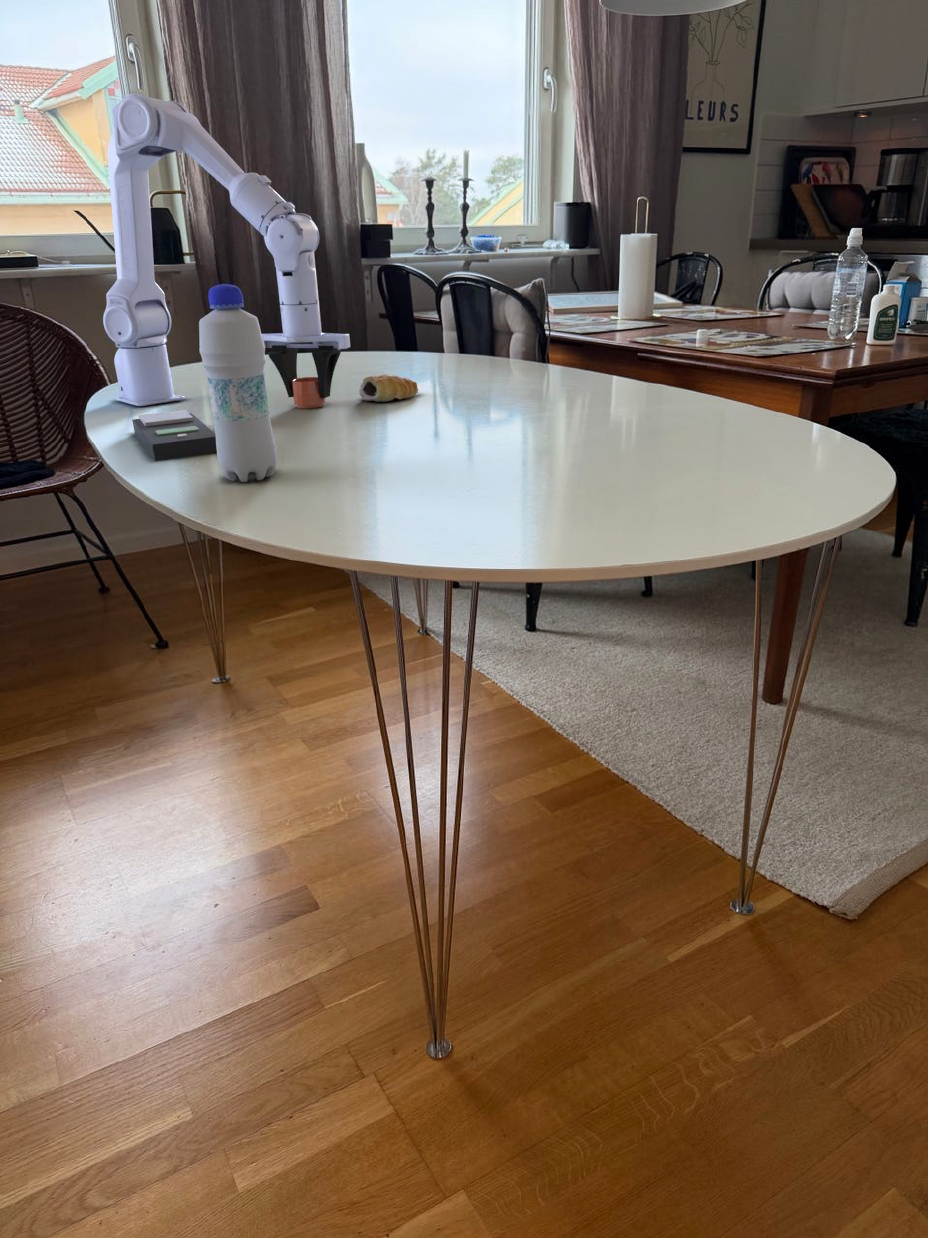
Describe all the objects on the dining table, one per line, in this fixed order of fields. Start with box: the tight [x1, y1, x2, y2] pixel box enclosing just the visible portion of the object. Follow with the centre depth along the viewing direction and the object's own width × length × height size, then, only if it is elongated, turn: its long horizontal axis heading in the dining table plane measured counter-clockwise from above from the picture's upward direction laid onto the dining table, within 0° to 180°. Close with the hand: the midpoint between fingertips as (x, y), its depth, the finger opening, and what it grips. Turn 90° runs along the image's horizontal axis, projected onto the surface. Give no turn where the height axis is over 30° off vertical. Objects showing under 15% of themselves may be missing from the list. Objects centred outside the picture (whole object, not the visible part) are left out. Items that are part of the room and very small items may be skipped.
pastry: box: [359, 374, 419, 403], centre depth 136 cm, size 9×7×4 cm
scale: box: [131, 409, 217, 462], centre depth 112 cm, size 18×8×2 cm, turn 27°
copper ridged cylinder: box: [292, 376, 327, 409], centre depth 132 cm, size 5×5×4 cm
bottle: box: [198, 283, 277, 483], centre depth 91 cm, size 7×7×20 cm
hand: (309, 396), depth 133 cm, fingers closed on copper ridged cylinder, 5 cm apart
